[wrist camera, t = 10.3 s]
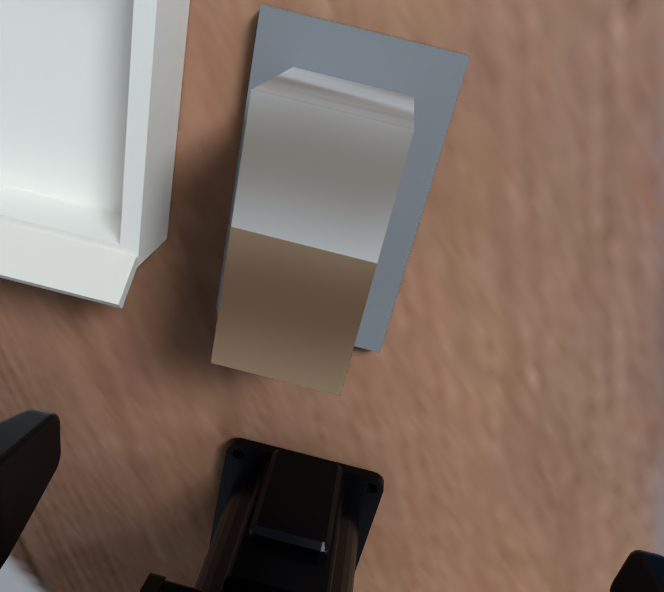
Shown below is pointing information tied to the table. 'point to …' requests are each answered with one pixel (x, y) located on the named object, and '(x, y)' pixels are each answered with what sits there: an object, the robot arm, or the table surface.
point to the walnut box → (309, 225)
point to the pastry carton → (87, 139)
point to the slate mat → (381, 72)
